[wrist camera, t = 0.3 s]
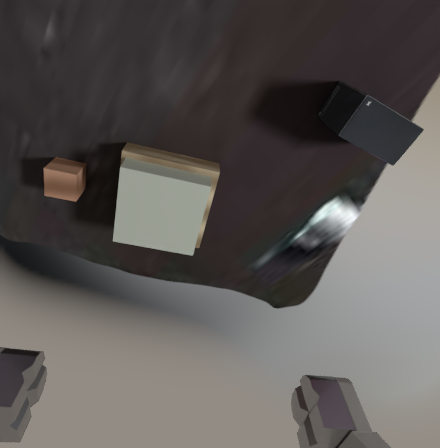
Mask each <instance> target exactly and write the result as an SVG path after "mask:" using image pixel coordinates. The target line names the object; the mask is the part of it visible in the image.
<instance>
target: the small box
mask: <svg viewBox="0 0 440 448" xmlns="http://www.w3.org/2000/svg"><path fill="white" fill-rule="evenodd" d="M317 116H318V117H319V118H320V119H321V120H322V121H323V122H324V123H325V124H326V125H327V126H329V127H330V128H331V129H332V130H333V131H334V132H335V133H336V134H337V135H338V136H340V137H341V138H343V139H345V140H347V141H348V142H350V143H352V144H354V145H356V146H357V147H359V148H361V149H363V150H365V151H366V152H368V153H370V154H372V155H374V156H376V157H377V158H379V159H381V160H383V161H385V162H387V163H389V164H391V165H394V164H395V163H396V162H397V161H398V160H399V159H400V157H401V156H402V155H403V154H404V153H405V152H406V150H407V149H408V148H409V147H410V146H411V144H412V143H413V142H414V141H415V140H416V139H417V137H418V136H419V135H420V134H421V133H422V131H423V129H422V128H421V127H419V126H418V125H416V124H415V123H413V122H411V121H410V120H408V119H406V118H405V117H403V116H402V115H400V114H398V113H397V112H395V111H394V110H392V109H390V108H389V107H387V106H385V105H384V104H382V103H380V102H379V101H377V100H376V99H374V98H372V97H371V96H369V95H367V94H365V93H363V92H361V91H359V90H357V89H355V88H352V87H350V86H348V85H347V84H345V83H343V82H341V81H339V82H338V84H337V85H336V86H335V89H334V90H333V92H332V93H331V95H330V96H329V98H328V99H327V101H326V102H325V104H324V105H323V106H322V108H321V110H320V112H319V113H318V115H317Z"/></svg>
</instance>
